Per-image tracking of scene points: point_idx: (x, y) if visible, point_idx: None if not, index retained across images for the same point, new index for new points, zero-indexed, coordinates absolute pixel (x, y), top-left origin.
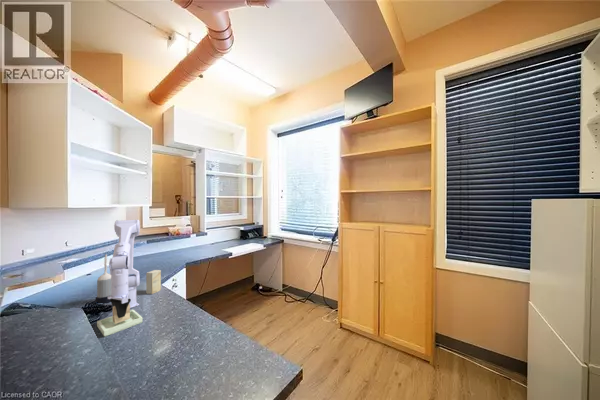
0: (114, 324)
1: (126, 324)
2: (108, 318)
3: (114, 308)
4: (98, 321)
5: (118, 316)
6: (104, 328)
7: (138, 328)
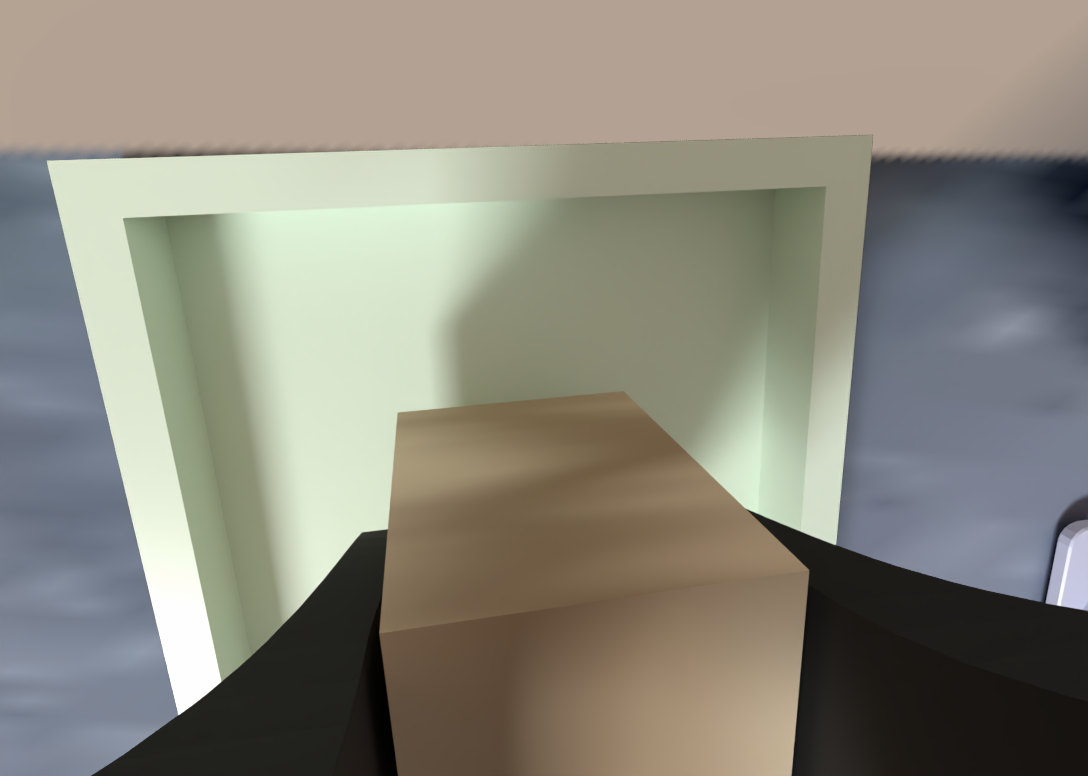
0: (546, 396)
1: (160, 585)
2: (809, 342)
3: (521, 614)
4: (825, 154)
5: (345, 552)
6: (254, 194)
7: (15, 696)
